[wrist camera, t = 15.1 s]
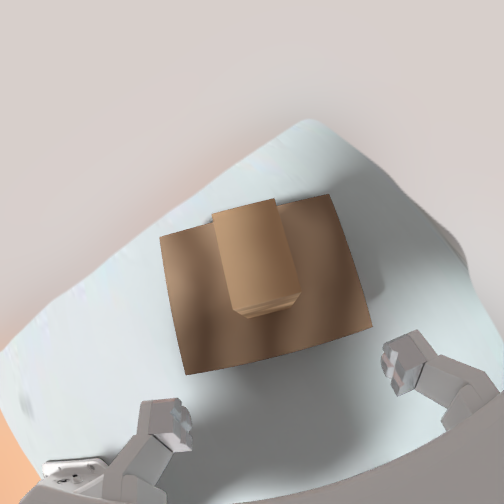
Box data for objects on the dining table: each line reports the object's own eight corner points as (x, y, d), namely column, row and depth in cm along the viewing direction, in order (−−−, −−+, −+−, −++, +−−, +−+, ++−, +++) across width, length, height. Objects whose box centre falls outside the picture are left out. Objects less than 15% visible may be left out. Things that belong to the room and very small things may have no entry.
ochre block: (247, 318, 25) (232, 309, 16) (232, 256, 27) (211, 214, 17) (290, 307, 25) (301, 291, 16) (273, 246, 27) (274, 198, 17)
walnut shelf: (201, 368, 30) (185, 375, 24) (177, 253, 34) (159, 237, 28) (355, 328, 30) (372, 326, 24) (320, 216, 34) (329, 193, 28)
